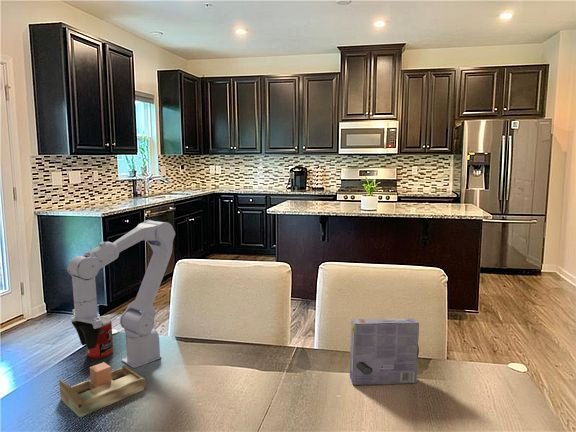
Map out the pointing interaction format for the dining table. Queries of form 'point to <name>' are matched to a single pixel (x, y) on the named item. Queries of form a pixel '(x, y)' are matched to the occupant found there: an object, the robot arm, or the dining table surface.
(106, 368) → the block
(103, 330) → the canned food
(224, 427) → the dining table surface
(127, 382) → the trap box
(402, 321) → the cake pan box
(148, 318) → the robot arm
